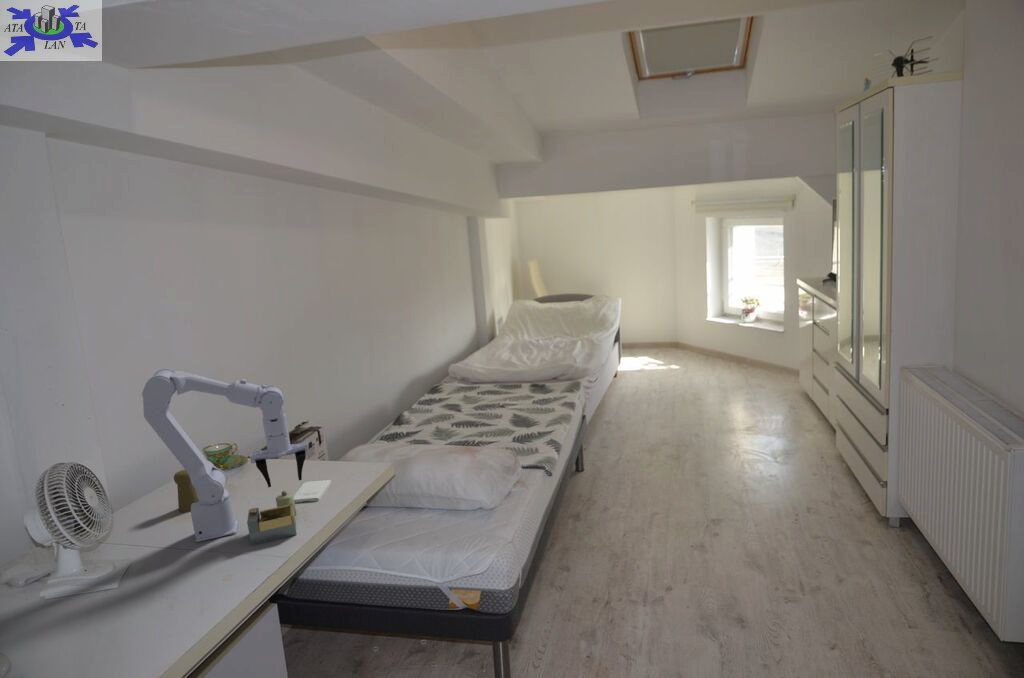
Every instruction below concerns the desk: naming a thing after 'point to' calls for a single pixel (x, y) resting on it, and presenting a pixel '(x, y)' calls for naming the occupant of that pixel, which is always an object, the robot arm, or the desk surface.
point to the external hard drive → (311, 491)
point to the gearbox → (271, 524)
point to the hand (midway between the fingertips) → (284, 482)
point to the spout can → (285, 500)
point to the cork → (185, 491)
